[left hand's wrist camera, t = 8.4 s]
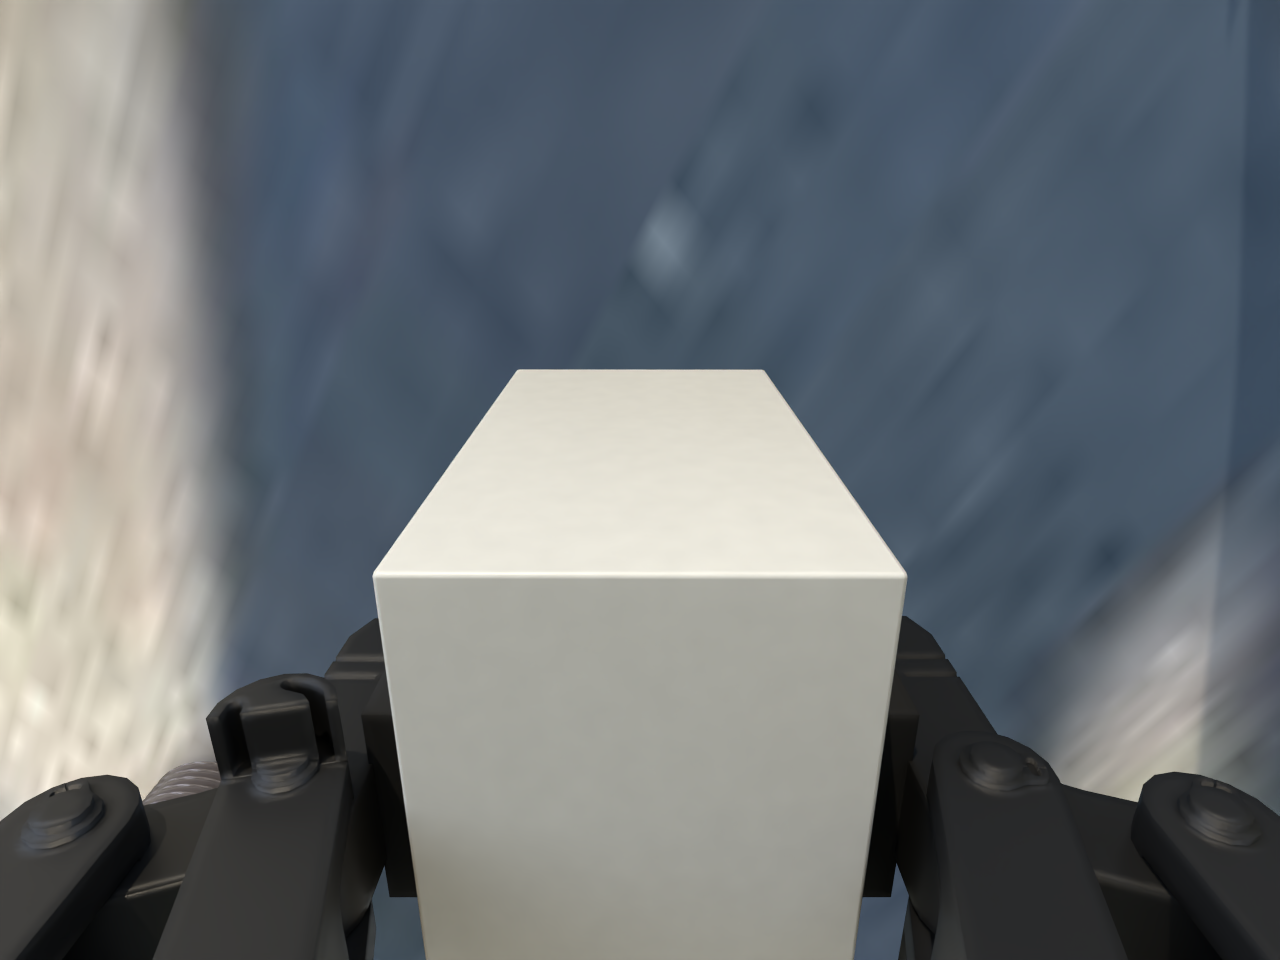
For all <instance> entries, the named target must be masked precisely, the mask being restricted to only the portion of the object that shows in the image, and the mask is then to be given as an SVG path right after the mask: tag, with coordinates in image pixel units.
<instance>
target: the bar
mask: <svg viewBox="0 0 1280 960" xmlns="http://www.w3.org/2000/svg"><path fill="white" fill-rule="evenodd" d="M373 582H374V589H375V596H376V603H377V610H378V618H379V625H380V632H381V639H382V646H383V653H384V661H385V668H386V675H387V682H388V689H389V696H390V704H391V711H392V718H393V725H394V732H395V740H396V747H397V754H398V761H399V768H400V775H401V783H402V790H403V797H404V804H405V811H406V818H407V826H408V833H409V840H410V847H411V854H412V861H413V869H414V876H415V883H416V890H417V897H418V905H419V912H420V919H421V926H422V933H423V940H424V948H425V955H426V960H854V953H855V946H856V939H857V932H858V925H859V918H860V910H861V903H862V896H863V889H864V882H865V875H866V868H867V861H868V854H869V846H870V839H871V832H872V825H873V818H874V811H875V804H876V797H877V790H878V782H879V775H880V768H881V761H882V754H883V747H884V740H885V733H886V726H887V718H888V711H889V704H890V697H891V690H892V683H893V676H894V669H895V661H896V654H897V647H898V640H899V633H900V626H901V619H902V612H903V605H904V597H905V590H906V583H907V574H906V572H905V570H904V569H903V567H902V566H901V565H900V563H899V562H898V560H897V559H896V557H895V556H894V555H893V553H892V552H891V550H890V549H889V548H888V546H887V545H886V543H885V542H884V540H883V539H882V538H881V536H880V535H879V533H878V532H877V530H876V529H875V528H874V526H873V525H872V523H871V522H870V520H869V519H868V518H867V516H866V515H865V513H864V512H863V511H862V509H861V508H860V506H859V505H858V503H857V502H856V501H855V499H854V498H853V496H852V495H851V493H850V492H849V491H848V489H847V488H846V486H845V485H844V483H843V482H842V481H841V479H840V478H839V476H838V475H837V474H836V472H835V471H834V469H833V468H832V466H831V465H830V464H829V462H828V461H827V459H826V458H825V456H824V455H823V454H822V452H821V451H820V449H819V448H818V446H817V445H816V444H815V442H814V441H813V439H812V438H811V437H810V435H809V434H808V432H807V431H806V429H805V428H804V427H803V425H802V424H801V422H800V421H799V419H798V418H797V417H796V415H795V414H794V412H793V411H792V410H791V408H790V407H789V405H788V404H787V402H786V401H785V400H784V398H783V397H782V395H781V394H780V392H779V391H778V390H777V388H776V387H775V385H774V384H773V382H772V381H771V380H770V378H769V377H768V375H767V374H766V373H765V371H764V370H517V371H516V373H515V374H514V376H513V377H512V378H511V380H510V381H509V383H508V384H507V385H506V387H505V388H504V390H503V391H502V392H501V394H500V395H499V397H498V398H497V400H496V401H495V402H494V404H493V405H492V407H491V408H490V409H489V411H488V412H487V414H486V415H485V416H484V418H483V419H482V421H481V422H480V423H479V425H478V426H477V428H476V429H475V430H474V432H473V433H472V435H471V436H470V438H469V439H468V440H467V442H466V443H465V445H464V446H463V447H462V449H461V450H460V452H459V453H458V454H457V456H456V457H455V459H454V460H453V461H452V463H451V464H450V466H449V467H448V468H447V470H446V471H445V473H444V474H443V476H442V477H441V478H440V480H439V481H438V483H437V484H436V485H435V487H434V488H433V490H432V491H431V492H430V494H429V495H428V497H427V498H426V499H425V501H424V502H423V504H422V505H421V507H420V508H419V509H418V511H417V512H416V514H415V515H414V516H413V518H412V519H411V521H410V522H409V523H408V525H407V526H406V528H405V529H404V530H403V532H402V533H401V535H400V536H399V537H398V539H397V540H396V542H395V543H394V545H393V546H392V547H391V549H390V550H389V552H388V553H387V554H386V556H385V557H384V559H383V560H382V561H381V563H380V564H379V566H378V567H377V568H376V570H375V571H374V574H373Z"/></svg>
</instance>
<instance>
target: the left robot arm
mask: <svg viewBox="0 0 1280 960" xmlns="http://www.w3.org/2000/svg"><path fill="white" fill-rule="evenodd" d="M956 673H957V672H956V671H955V669H954V668H953V666H952V665H951V663H950V662H949V660H948V659H945V654H944V653H943V651H942V650H941V648H940V647H939V645H938V644H937V642H936V641H935V639H934V638H933V636H932V635H931V634H930V633H929V632H928V631H926V630H925V629H923V628H922V627H921V626H919V625H918V624H916V623H915V622H914V621H912V620H911V619H909V618H908V617H907V616H902V619H901V626H900V633H899V640H898V647H897V654H896V661H895V669H894V676H893V683H892V690H891V697H890V704H889V711H888V718H887V726H886V733H885V740H884V747H883V754H882V761H881V768H880V775H879V782H878V790H877V797H876V804H875V811H874V818H873V825H872V832H871V839H870V846H869V854H868V861H867V868H866V875H865V882H864V889H863V896H862V897H891V893H892V886H893V880H894V874H895V867H896V863H897V865H898V868H899V870H900V873H901V876H902V878H903V881H904V883H905V886H906V889H907V891H908V894H909V899H908V905H907V910H906V916H905V922H904V928H903V934H902V940H901V946H900V952H899V958H898V960H1280V816H1278V815H1277V814H1276V813H1274V812H1273V811H1272V810H1271V809H1269V808H1268V807H1267V806H1265V805H1264V804H1263V803H1261V802H1260V801H1259V800H1258V799H1256V798H1254V797H1252V796H1250V795H1248V794H1246V793H1244V792H1243V791H1241V790H1239V789H1237V788H1235V787H1233V786H1231V785H1229V784H1226V783H1223V782H1221V781H1218V780H1214V779H1212V778H1208V777H1205V776H1202V775H1196V774H1188V773H1180V772H1170V773H1164V774H1158V775H1154V776H1153V777H1152V778H1151V779H1149V780H1148V781H1147V782H1146V783H1145V784H1143V788H1142V791H1141V794H1140V798H1139V801H1138V802H1133V801H1129V800H1125V799H1120V798H1116V797H1111V796H1107V795H1102V794H1098V793H1093V792H1089V791H1084V790H1081V789H1077V788H1074V787H1071V786H1067V785H1064V784H1061V783H1060V780H1059V778H1058V777H1057V775H1056V774H1055V772H1054V771H1053V769H1052V768H1051V766H1050V765H1049V763H1048V762H1047V761H1045V760H1044V759H1043V758H1042V757H1040V756H1039V755H1038V754H1037V753H1035V752H1034V751H1033V750H1032V749H1030V748H1029V747H1027V746H1025V745H1023V744H1020V743H1018V742H1016V741H1014V740H1012V739H1010V738H1008V737H1005V736H1001V735H998V734H997V733H996V731H995V730H994V728H993V727H992V725H991V724H990V722H989V721H988V719H987V718H986V716H985V715H984V713H983V712H982V710H981V709H980V707H979V706H978V704H977V703H976V701H975V700H974V698H973V697H972V695H971V694H970V692H969V691H968V689H967V687H966V686H965V684H964V683H963V681H962V680H961V678H960V677H957V675H956ZM206 721H207V725H208V729H209V733H210V737H211V741H212V745H213V749H214V753H215V757H216V761H217V765H218V769H219V773H220V777H221V782H220V784H219V787H217V788H214V789H210V790H207V791H204V792H200V793H196V794H192V795H188V796H183V797H179V798H174V799H170V800H165V801H161V802H156V803H152V804H148V805H143V802H142V799H141V795H140V792H139V789H138V787H137V786H136V785H134V784H133V783H132V782H131V781H130V780H129V779H127V778H123V777H117V776H111V775H102V776H94V777H86V778H80V779H77V780H74V781H71V782H68V783H64V784H61V785H59V786H56V787H53V788H51V789H49V790H47V791H45V792H43V793H41V794H39V795H38V796H36V797H34V798H32V799H30V800H28V801H26V802H24V803H23V804H22V805H21V806H19V807H18V808H17V809H15V810H14V811H13V812H12V813H10V814H9V815H8V816H7V817H5V818H4V819H3V820H1V821H0V960H373V956H374V946H375V935H376V924H375V917H374V910H373V905H372V896H373V894H374V891H375V889H376V886H377V883H378V881H379V878H380V875H381V873H382V870H383V868H384V865H385V870H386V877H387V883H388V889H389V896H390V897H417V890H416V883H415V876H414V869H413V861H412V854H411V847H410V840H409V833H408V826H407V818H406V811H405V804H404V797H403V790H402V783H401V775H400V768H399V761H398V754H397V747H396V740H395V732H394V725H393V718H392V711H391V704H390V696H389V689H388V682H387V675H386V668H385V661H384V653H383V646H382V639H381V632H380V625H379V618H375V619H373V620H372V621H370V622H369V623H368V624H366V625H365V626H364V627H362V628H361V629H359V630H358V631H357V632H355V633H354V634H352V635H351V636H350V637H349V638H348V640H347V641H346V643H345V644H344V646H343V647H342V649H341V651H340V652H339V654H338V655H337V657H336V662H333V663H332V664H331V666H330V667H329V669H328V670H327V672H326V673H325V677H324V678H323V677H319V676H315V675H311V674H307V673H306V674H282V675H278V676H274V677H269V678H265V679H261V680H258V681H256V682H253V683H251V684H249V685H246V686H244V687H242V688H239V689H237V690H236V691H234V692H233V693H231V694H230V695H229V696H227V697H226V698H224V699H223V700H221V701H220V702H219V703H217V705H216V706H215V707H214V709H213V710H212V711H211V712H210V714H209V715H208V716H207V718H206Z"/></svg>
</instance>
